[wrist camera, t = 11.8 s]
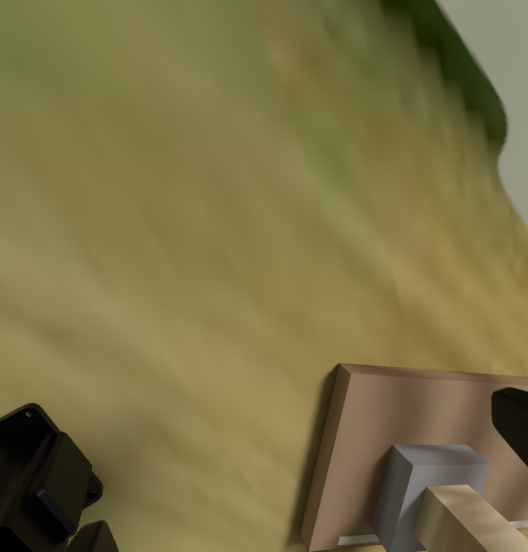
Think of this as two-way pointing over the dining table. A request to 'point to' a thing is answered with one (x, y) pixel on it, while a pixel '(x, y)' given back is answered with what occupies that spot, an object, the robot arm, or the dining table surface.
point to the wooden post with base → (440, 503)
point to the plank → (403, 430)
